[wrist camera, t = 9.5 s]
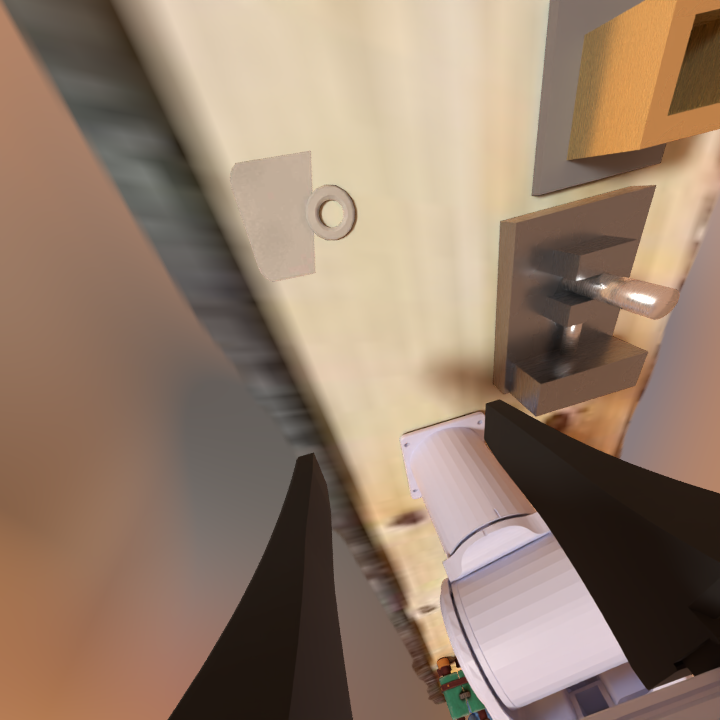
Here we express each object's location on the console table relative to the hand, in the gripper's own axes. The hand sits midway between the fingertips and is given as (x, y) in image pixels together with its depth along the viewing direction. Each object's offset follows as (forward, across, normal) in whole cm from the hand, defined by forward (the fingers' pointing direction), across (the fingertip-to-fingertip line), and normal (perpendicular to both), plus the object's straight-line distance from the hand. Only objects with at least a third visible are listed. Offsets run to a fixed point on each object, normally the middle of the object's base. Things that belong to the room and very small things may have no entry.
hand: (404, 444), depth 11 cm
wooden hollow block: (+9, -16, -11) cm, 22 cm away
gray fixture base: (+10, -15, +1) cm, 18 cm away
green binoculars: (+10, -5, +86) cm, 87 cm away
